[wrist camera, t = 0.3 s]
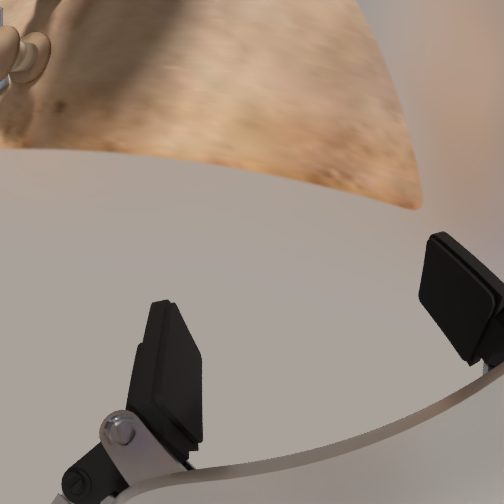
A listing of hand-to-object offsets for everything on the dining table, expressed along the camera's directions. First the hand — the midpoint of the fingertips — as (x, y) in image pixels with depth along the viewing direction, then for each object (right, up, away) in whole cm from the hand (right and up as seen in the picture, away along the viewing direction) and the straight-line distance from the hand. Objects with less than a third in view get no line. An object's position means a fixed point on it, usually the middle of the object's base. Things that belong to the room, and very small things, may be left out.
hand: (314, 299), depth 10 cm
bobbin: (-34, +29, +14) cm, 47 cm away
